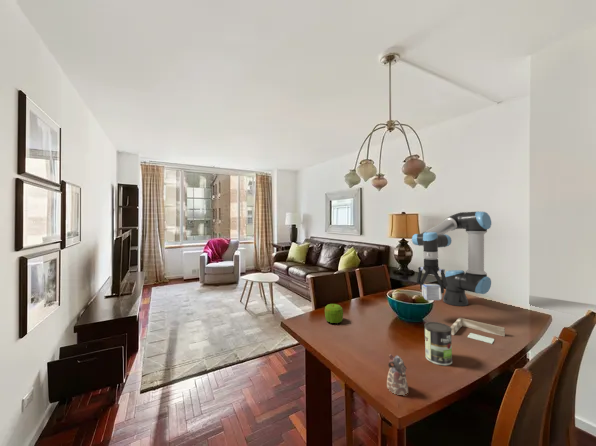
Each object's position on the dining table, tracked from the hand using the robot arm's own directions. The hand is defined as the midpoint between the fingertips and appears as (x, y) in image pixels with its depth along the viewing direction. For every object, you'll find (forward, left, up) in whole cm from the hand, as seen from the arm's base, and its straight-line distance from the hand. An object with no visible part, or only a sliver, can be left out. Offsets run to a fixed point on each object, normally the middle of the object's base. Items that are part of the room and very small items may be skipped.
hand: (432, 296), depth 145 cm
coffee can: (+39, +15, -15) cm, 44 cm away
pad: (+5, +24, -15) cm, 29 cm away
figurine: (+70, +11, -15) cm, 73 cm away
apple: (+38, -43, -15) cm, 59 cm away
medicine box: (0, 0, -2) cm, 2 cm away
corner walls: (+2, +22, -15) cm, 27 cm away
